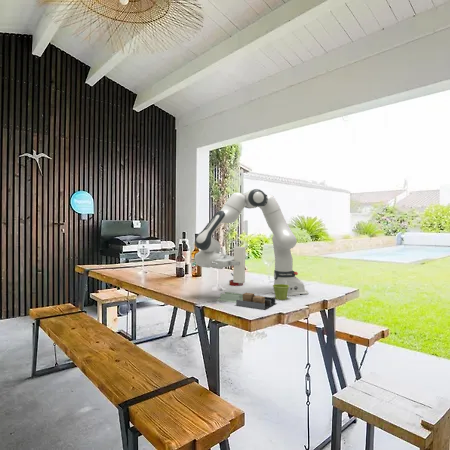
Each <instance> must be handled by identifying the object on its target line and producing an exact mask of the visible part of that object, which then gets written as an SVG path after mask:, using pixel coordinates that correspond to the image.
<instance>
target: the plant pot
mask: <svg viewBox="0 0 450 450" xmlns="http://www.w3.org/2000/svg"><path fill="white" fill-rule="evenodd" d="M273 287H274V291H275V293H274V298H275V300H278V301H279V300H280V301H281V300H282V301H285V300H287V299H288V298H287V297H288V296H287V292H288V288H289V285H285V284H275V285H274V284H273V285H272V288H273Z"/></svg>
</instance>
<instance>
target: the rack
mask: <svg viewBox="0 0 450 450" xmlns="http://www.w3.org/2000/svg"><path fill="white" fill-rule="evenodd" d="M254 296H257V295H256V294H254ZM261 296H262V297H265V303H258V302H251V301H244V300H236V303H235V305H233V306H234V307H235V306H236V307H240V308H247V309H248V308H249V309H253V310H254V309H255V310H260V311H267V310H269V309H271V308H272V307H274V306H276V305H278V303H277V302H276V298H275V297H270V296H263V295H261Z"/></svg>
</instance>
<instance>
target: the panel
mask: <svg viewBox="0 0 450 450" xmlns="http://www.w3.org/2000/svg"><path fill="white" fill-rule="evenodd" d="M233 256H234V261H235V262H240V264H239V265H233V268H232V270H233V273H232V274H233V276H232V278H233V279H232V280H233V282H235V283H243V284H245V282H246V279H245V278H246V247H245V246H233Z"/></svg>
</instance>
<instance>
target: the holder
mask: <svg viewBox="0 0 450 450" xmlns="http://www.w3.org/2000/svg"><path fill="white" fill-rule="evenodd" d="M243 294H244V293H238V292H229V291H224V293H220V295H219V297H220V298H218V299H215V300H216V302H217V301H221V302H228V303H235V304H236V300H243Z"/></svg>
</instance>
